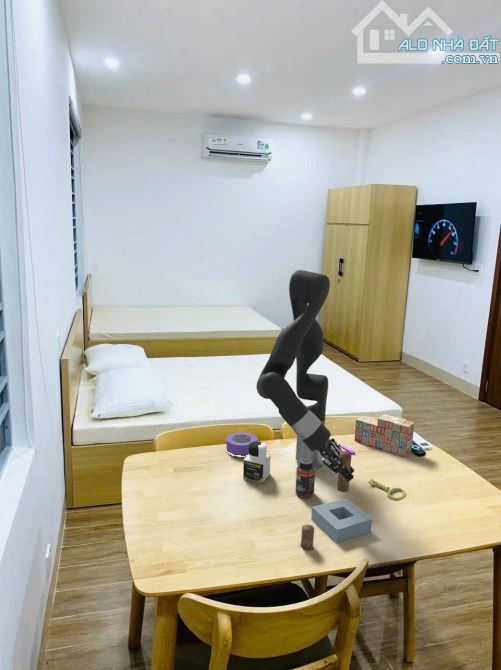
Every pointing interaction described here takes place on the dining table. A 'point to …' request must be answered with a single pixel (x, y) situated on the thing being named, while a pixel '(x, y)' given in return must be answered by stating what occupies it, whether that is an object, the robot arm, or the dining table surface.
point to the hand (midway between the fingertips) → (351, 475)
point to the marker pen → (347, 449)
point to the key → (388, 490)
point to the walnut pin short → (307, 537)
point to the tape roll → (239, 443)
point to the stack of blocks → (385, 433)
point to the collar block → (342, 529)
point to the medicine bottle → (257, 462)
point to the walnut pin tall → (342, 482)
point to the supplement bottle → (305, 478)
